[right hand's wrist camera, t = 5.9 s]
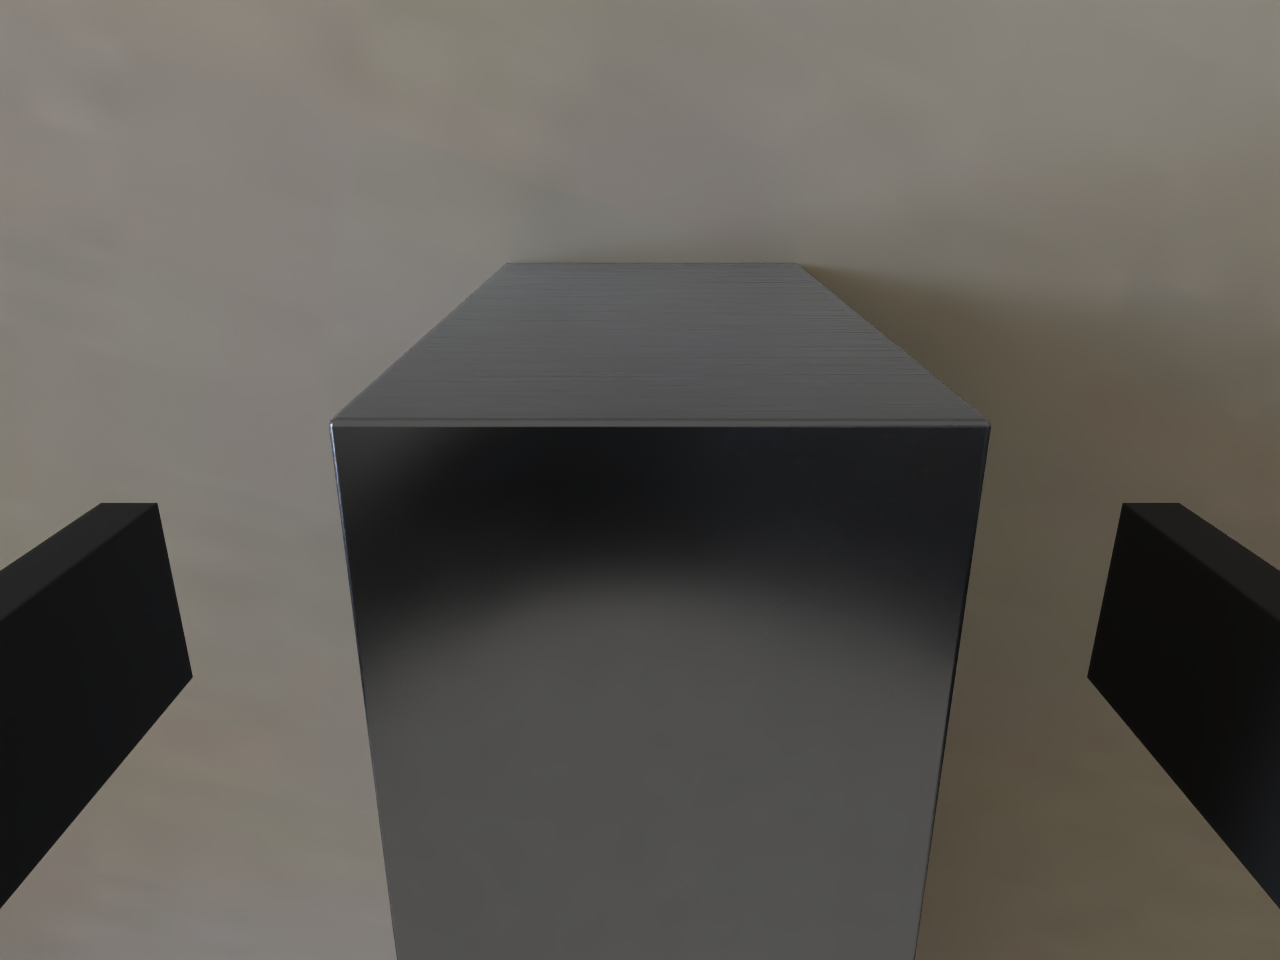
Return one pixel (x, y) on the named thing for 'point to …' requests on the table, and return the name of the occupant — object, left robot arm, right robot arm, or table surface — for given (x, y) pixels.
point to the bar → (657, 616)
